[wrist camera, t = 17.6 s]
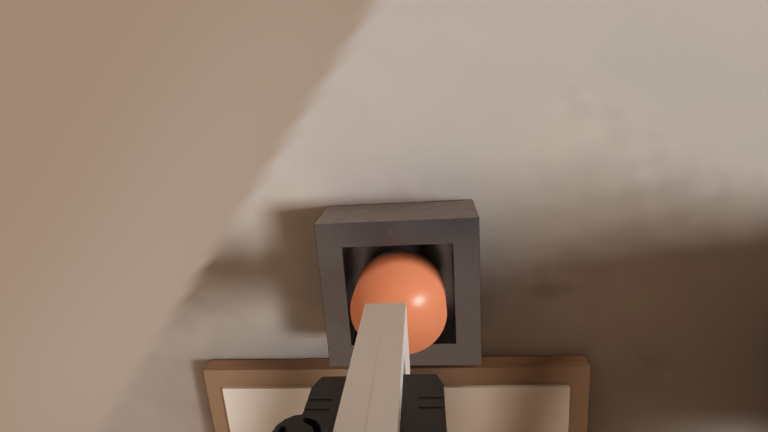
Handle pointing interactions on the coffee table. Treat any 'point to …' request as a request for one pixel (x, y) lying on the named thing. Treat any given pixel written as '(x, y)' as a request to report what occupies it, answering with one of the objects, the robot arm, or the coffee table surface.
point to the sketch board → (461, 382)
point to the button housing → (411, 233)
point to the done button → (404, 294)
